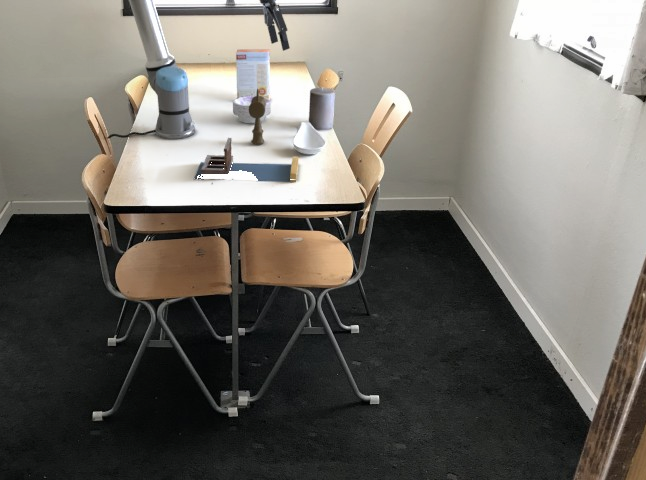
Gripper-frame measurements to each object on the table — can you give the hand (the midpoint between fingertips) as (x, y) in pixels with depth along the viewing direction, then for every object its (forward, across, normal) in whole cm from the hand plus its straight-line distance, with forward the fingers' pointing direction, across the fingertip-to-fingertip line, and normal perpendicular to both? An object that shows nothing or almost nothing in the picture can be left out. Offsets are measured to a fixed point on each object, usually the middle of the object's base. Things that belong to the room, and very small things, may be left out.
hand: (280, 45), depth 282 cm
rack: (+14, -58, +48) cm, 76 cm away
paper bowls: (+21, -7, +21) cm, 31 cm away
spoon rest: (+24, -44, +12) cm, 52 cm away
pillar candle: (+28, -24, -2) cm, 36 cm away
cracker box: (+24, +19, +12) cm, 33 cm away
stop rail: (+20, -68, +25) cm, 75 cm away
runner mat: (+16, -62, +39) cm, 75 cm away
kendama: (+20, -35, +27) cm, 48 cm away
